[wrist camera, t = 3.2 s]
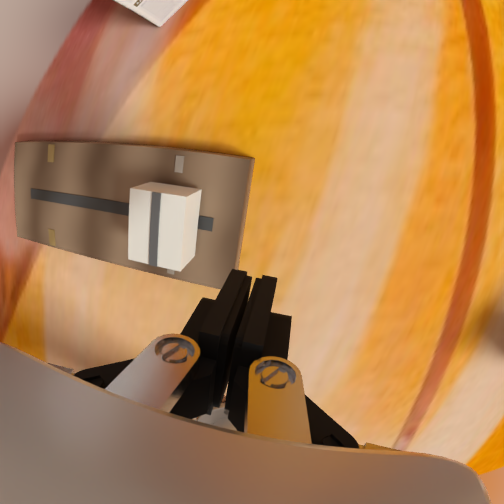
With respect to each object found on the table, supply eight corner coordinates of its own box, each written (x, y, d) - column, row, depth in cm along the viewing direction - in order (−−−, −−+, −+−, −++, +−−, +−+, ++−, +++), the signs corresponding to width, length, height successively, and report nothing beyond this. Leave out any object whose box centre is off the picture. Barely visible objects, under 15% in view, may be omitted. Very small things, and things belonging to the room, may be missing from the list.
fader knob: (201, 189, 21) (186, 197, 18) (194, 255, 23) (180, 272, 20) (150, 181, 22) (129, 188, 19) (147, 245, 23) (127, 259, 21)
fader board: (254, 158, 22) (250, 159, 20) (236, 280, 26) (230, 292, 24) (28, 140, 25) (14, 142, 23) (29, 231, 28) (16, 236, 26)
